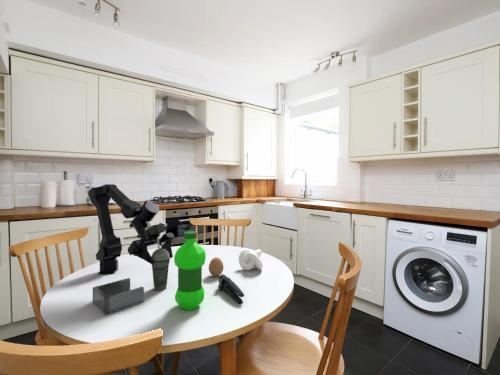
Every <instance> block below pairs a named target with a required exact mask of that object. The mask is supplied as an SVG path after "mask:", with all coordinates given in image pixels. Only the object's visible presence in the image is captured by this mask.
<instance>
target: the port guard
mask: <svg viewBox="0 0 500 375" xmlns="http://www.w3.org/2000/svg"><path fill="white" fill-rule="evenodd" d="M144 289H145V287H144V286H139V287H135V288H133V289H131V278H129V277H128V278H127V277H126V278H123V279H119V280H116V281H112V282H109V283H105V284H101V285H97V286H94V287H92V303H93V304H94V305H95V306H97V308H98V309H99V310H100V311H101V312H102V313H103V314H104V315H105V316H106V315H109V314H113V313H114V312H118V311H121V310H125V309H127V308H130V307H133V306H136V305H138V304H141V303H144V302H145V298H144V297H145V295H144V294H145V293H144V292H145V290H144Z"/></svg>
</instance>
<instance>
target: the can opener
mask: <svg viewBox="0 0 500 375" xmlns="http://www.w3.org/2000/svg"><path fill="white" fill-rule="evenodd" d="M217 282H218V286H217V288H218V289H219V290H221V291H226V292H227V293H228V295H230V297H231V298H232V299H233V300H234V301H235V302H236V303H237V304H239V305H240V304H241V305H242V304H243V303H244V300H243V299H242V298H243V297H245V294H244V292H243V290H241V288H240V287H239V286H238V285H237V283H235V282H234V281H233V280H232V279H231V277H228V276H227V275H226V274H223V273H221V274H220V275H219V276H218V279H217Z"/></svg>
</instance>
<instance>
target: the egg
mask: <svg viewBox="0 0 500 375" xmlns="http://www.w3.org/2000/svg"><path fill="white" fill-rule="evenodd" d="M223 271H224V263H223V260H222V259H221V258H219V257H213V258H212V259H211V260H210V261H209V264H208V272H209V274H210V275H211V276H213V277H219V276H220V275H222V274H223Z"/></svg>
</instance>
